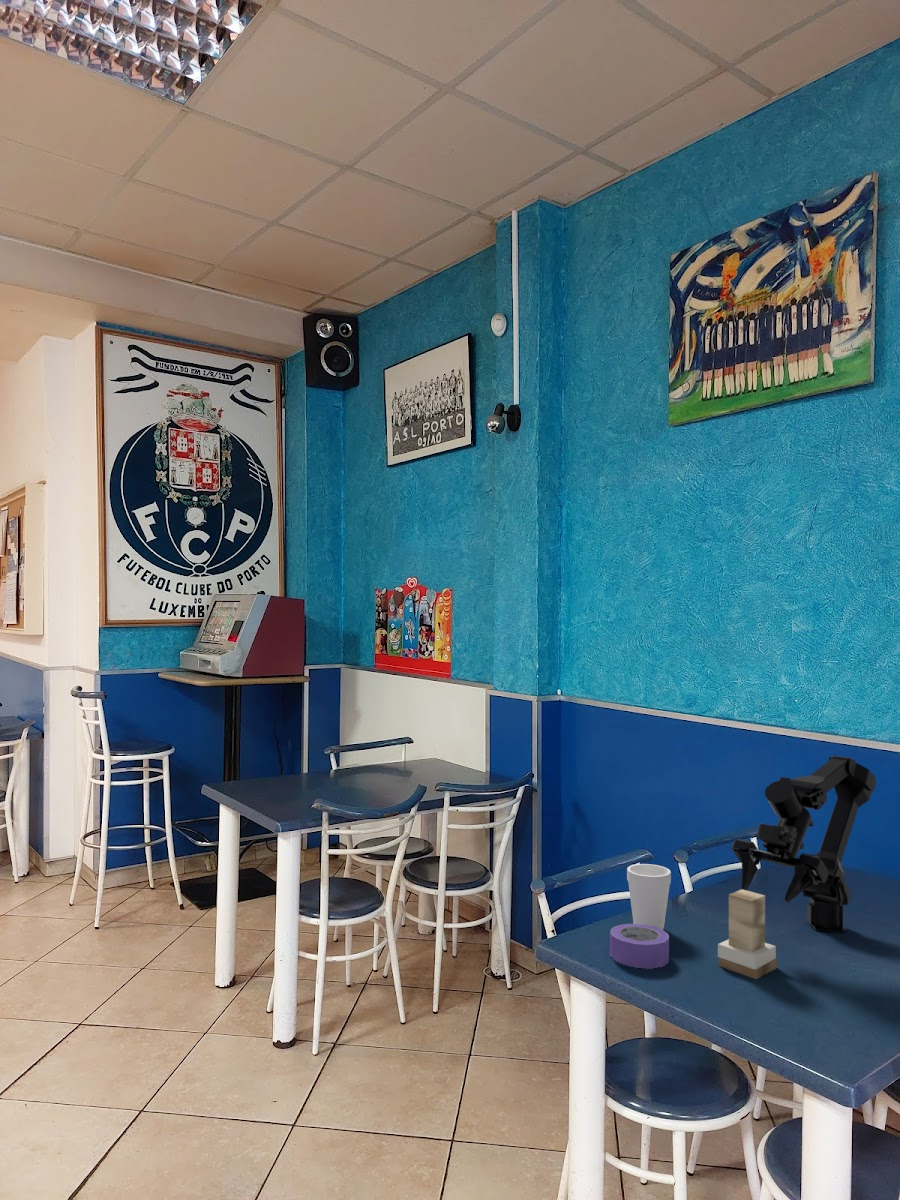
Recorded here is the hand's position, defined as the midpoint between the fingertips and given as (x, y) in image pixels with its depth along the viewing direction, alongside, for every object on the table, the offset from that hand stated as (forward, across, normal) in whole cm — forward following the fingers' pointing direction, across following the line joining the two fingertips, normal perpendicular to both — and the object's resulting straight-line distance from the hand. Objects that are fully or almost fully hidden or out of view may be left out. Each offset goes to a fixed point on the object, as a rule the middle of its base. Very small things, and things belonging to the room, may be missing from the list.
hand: (764, 895), depth 175 cm
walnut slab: (+14, 0, +6) cm, 15 cm away
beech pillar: (+10, 0, +2) cm, 11 cm away
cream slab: (+12, -1, +4) cm, 13 cm away
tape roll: (+22, -18, -3) cm, 28 cm away
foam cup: (+12, -25, +7) cm, 29 cm away
